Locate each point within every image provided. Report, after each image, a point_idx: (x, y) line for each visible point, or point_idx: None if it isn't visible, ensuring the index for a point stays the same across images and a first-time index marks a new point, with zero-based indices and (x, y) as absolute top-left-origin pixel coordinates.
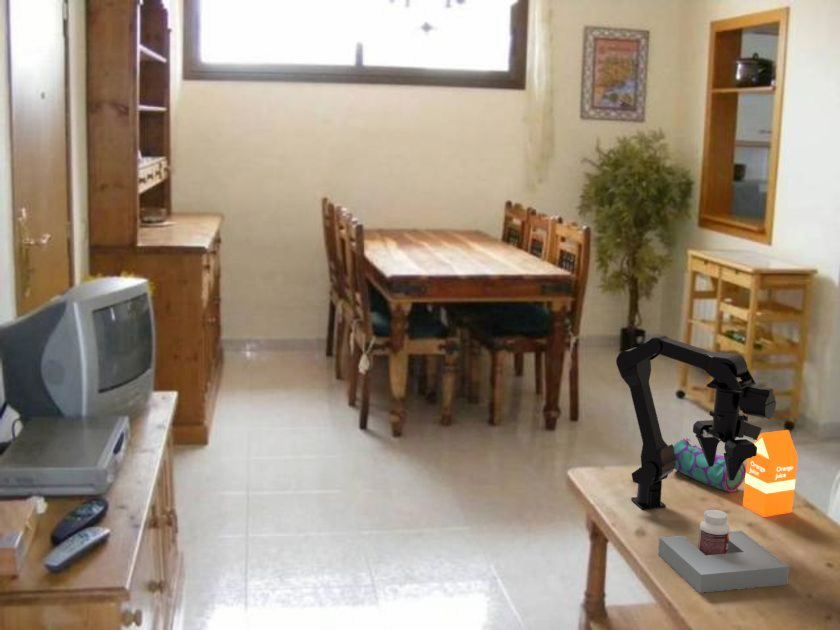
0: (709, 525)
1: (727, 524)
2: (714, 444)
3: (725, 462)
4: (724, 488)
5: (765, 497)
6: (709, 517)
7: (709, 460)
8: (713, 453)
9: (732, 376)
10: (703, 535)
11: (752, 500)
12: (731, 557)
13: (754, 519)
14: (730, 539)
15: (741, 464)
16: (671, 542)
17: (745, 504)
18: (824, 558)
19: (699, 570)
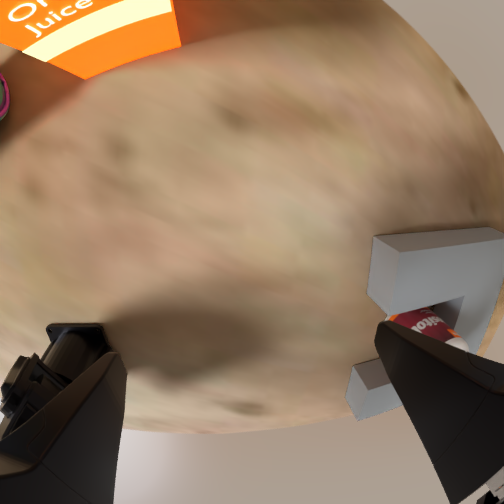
0: None
1: (463, 348)
2: (56, 488)
3: (430, 453)
4: (3, 116)
5: (171, 18)
6: None
7: (118, 407)
8: (88, 427)
9: None
10: None
11: (112, 54)
12: (464, 325)
13: (195, 83)
14: (423, 302)
15: (496, 365)
16: (381, 406)
17: (92, 73)
18: (441, 74)
19: None
